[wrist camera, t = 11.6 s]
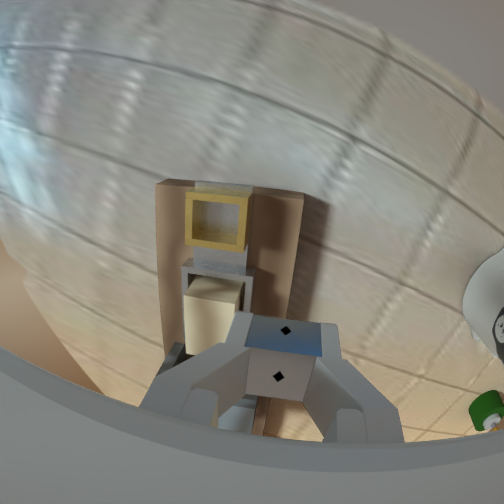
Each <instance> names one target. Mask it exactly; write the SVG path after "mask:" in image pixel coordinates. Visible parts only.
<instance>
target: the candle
mask: <svg viewBox="0 0 504 504" xmlns="http://www.w3.org/2000/svg"><path fill="white" fill-rule="evenodd" d="M469 414H470V416H471V419H472V421H473V424H474V427H475V429H476V430H477V431H483V430H488V429H491V428H492V431H497V430H498V427H496V425H497V424H498V423H499V422H500V420H501V419H502V418H503V416H504V404H503V402H502V400H501V398H500V396H499V394H498V392H497V391H496V390H491V391H488V392H485V393H483V394H482V395H480V396H479V397H478V398H476V399H475V400H474V401H473V402H472V404H471V405H470V407H469Z"/></svg>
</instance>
